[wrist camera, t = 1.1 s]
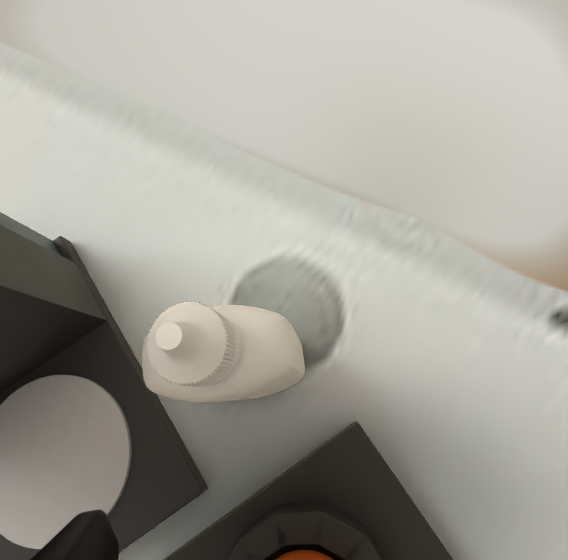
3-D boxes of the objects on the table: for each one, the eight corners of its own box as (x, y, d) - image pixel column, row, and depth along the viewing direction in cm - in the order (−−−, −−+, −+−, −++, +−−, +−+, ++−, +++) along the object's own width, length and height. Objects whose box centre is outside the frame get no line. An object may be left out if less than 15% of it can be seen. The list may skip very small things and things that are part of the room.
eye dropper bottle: (219, 308, 23) (113, 226, 12) (316, 345, 22) (302, 294, 11) (187, 384, 22) (36, 376, 11) (285, 426, 21) (235, 467, 10)
